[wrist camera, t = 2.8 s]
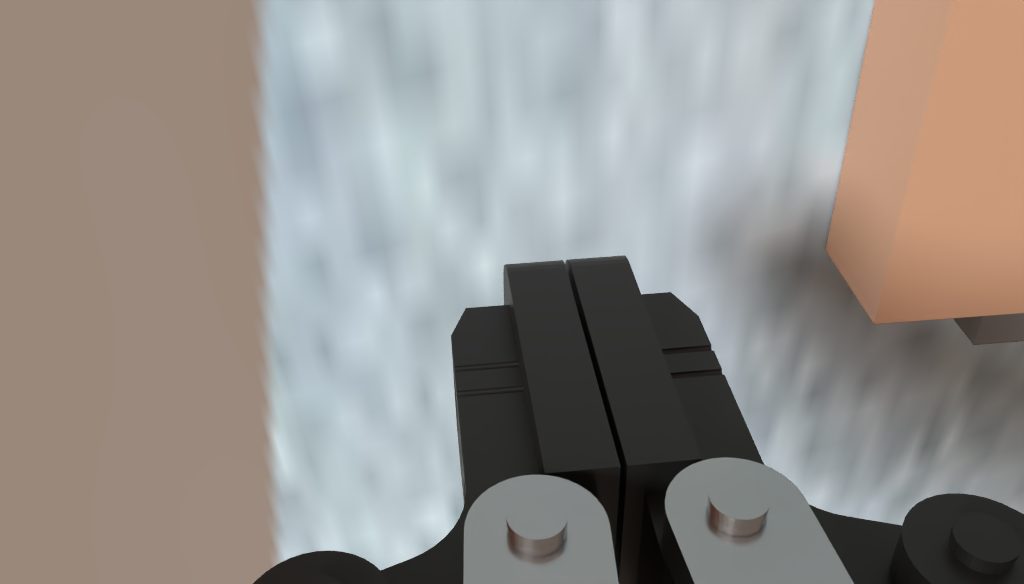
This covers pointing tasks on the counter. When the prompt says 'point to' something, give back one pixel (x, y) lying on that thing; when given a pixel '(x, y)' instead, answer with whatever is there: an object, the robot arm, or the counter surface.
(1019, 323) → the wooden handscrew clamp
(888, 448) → the counter surface
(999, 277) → the light orange flat block
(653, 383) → the robot arm
